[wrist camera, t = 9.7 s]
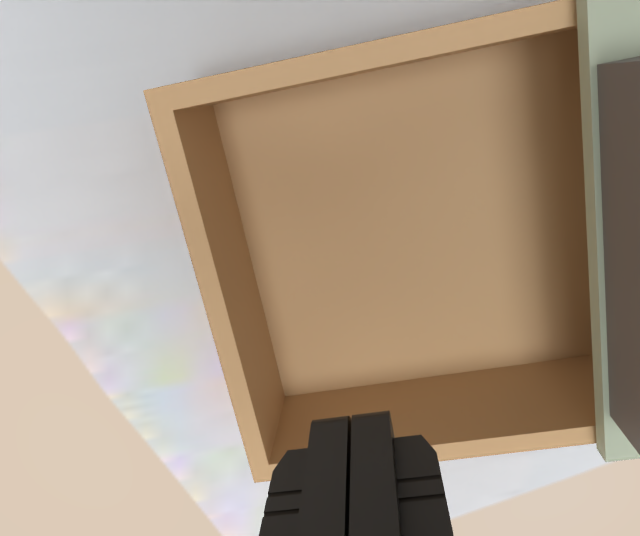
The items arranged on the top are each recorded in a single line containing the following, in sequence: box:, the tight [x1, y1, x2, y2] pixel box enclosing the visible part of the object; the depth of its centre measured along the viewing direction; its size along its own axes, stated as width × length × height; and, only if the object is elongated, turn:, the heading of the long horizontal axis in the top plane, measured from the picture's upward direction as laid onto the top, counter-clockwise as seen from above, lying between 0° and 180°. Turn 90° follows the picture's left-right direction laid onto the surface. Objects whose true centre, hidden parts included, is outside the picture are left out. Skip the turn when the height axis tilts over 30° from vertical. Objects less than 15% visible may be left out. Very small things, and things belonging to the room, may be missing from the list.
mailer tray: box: [144, 0, 596, 483], centre depth 22 cm, size 16×20×6 cm
